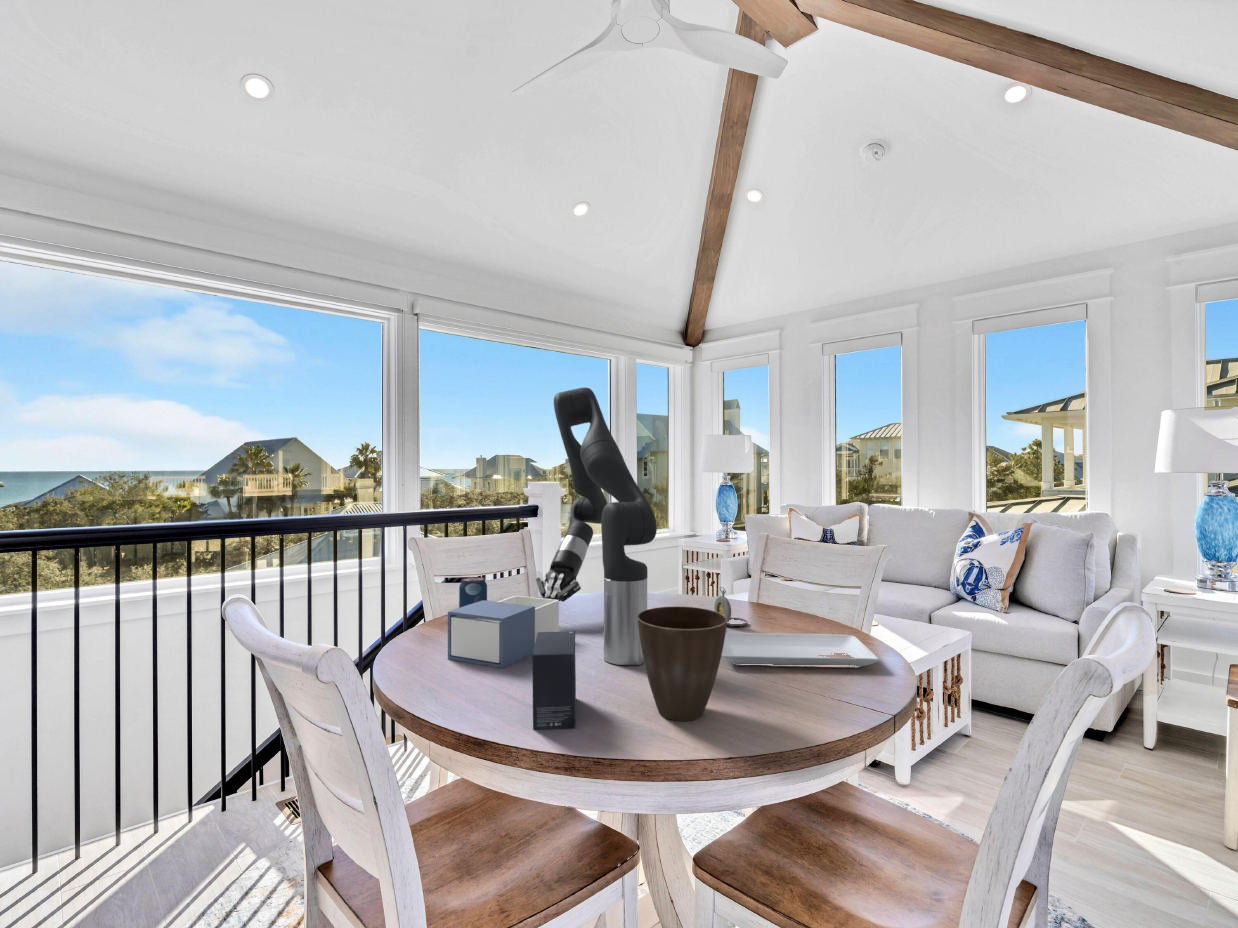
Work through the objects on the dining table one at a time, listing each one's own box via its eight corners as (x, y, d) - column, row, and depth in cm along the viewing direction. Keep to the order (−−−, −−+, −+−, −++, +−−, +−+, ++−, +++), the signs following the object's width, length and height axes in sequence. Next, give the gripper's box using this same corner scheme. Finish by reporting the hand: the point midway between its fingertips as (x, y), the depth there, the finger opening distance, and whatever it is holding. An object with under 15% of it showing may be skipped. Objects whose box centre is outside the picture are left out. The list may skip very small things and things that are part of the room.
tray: (881, 675, 123) (881, 657, 123) (721, 671, 125) (721, 654, 125) (854, 649, 140) (854, 634, 140) (713, 646, 142) (713, 631, 142)
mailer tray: (558, 633, 148) (558, 600, 148) (499, 662, 126) (499, 623, 126) (515, 627, 153) (515, 595, 153) (451, 655, 131) (451, 617, 131)
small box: (536, 698, 109) (537, 630, 109) (575, 697, 110) (576, 630, 110) (531, 730, 96) (531, 653, 96) (575, 729, 97) (576, 652, 97)
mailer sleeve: (534, 651, 136) (535, 606, 136) (502, 667, 125) (503, 618, 125) (482, 643, 142) (482, 600, 142) (447, 658, 131) (447, 611, 131)
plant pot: (744, 711, 104) (744, 615, 104) (692, 740, 93) (693, 633, 93) (672, 689, 114) (672, 602, 114) (618, 713, 103) (618, 617, 103)
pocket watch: (751, 623, 161) (751, 585, 161) (739, 630, 154) (739, 590, 154) (721, 619, 166) (721, 581, 166) (708, 626, 159) (708, 587, 159)
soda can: (480, 629, 154) (481, 581, 154) (454, 628, 155) (454, 580, 155) (491, 622, 161) (491, 576, 161) (465, 621, 162) (465, 575, 162)
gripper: (543, 546, 165) (516, 601, 154) (587, 549, 160) (563, 607, 148) (553, 563, 170) (528, 618, 159) (596, 567, 164) (573, 624, 153)
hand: (545, 612), depth 154 cm, fingers closed
